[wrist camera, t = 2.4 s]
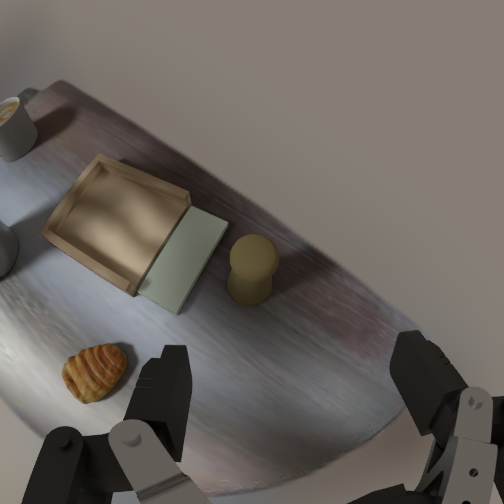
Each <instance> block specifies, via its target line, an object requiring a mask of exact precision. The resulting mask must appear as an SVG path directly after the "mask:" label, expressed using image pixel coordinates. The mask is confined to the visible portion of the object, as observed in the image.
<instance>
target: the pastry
mask: <svg viewBox="0 0 504 504" xmlns="http://www.w3.org/2000/svg"><path fill="white" fill-rule="evenodd" d="M126 366H127V357H126V356H125V354H124V352H123V351H122V350H121V349H120V348H119V347H118V346H116V345H113V344H110V343H108V344H104V345H96V346H94V347H90V348H88V349H83V350H81V351H80V352H79V353H78V354H77V355H76V356H71V357H69V359H68V361H67V363H65V364H64V366H63V369H62V377H63V380H64V382H65V384H66V386H67V388H68V390H69V391H70V392H71V393H72V395H73V396H74V397H75V398H76V399H77V400H79V401H81V402H82V403H84V404H88V403H91V402H97V401H99V400H100V399H101V398H102V397H104V396H105V395H106V394H107V393H108V392H109V391H110V390H111V389H112V388H113V387H114V385H115V384H116V383H117V382H118V380H119V379H120V378H121V376H122V375H123V374H124V372H125V369H126Z"/></svg>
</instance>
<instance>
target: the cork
mask: <svg viewBox="0 0 504 504" xmlns="http://www.w3.org/2000/svg"><path fill="white" fill-rule="evenodd" d="M230 264H231V267H232V269H231V271H230V273H229V276H228V279H227V289H228V292H229V294H230V295H231V297H232V298H233V299H234V300H235V301H236V302H238V303H239V304H242V305H246V306H254V305H257V304H260V303H262V302H263V301H265V300H266V299H267V297H268V296H269V295H270V293H271V289H272V276H273V274H274V273H275V271H276V270H277V268H278V264H279V252H278V249H277V247H276V245H275V244H274V243H273V241H272V240H271V239H269V238H267V237H266V236H264V235H260V234H248V235H245V236H243V237H241V238H240V239H238V240H237V241H236V243H235V244H234V245H233V247H232V249H231V252H230Z"/></svg>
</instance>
